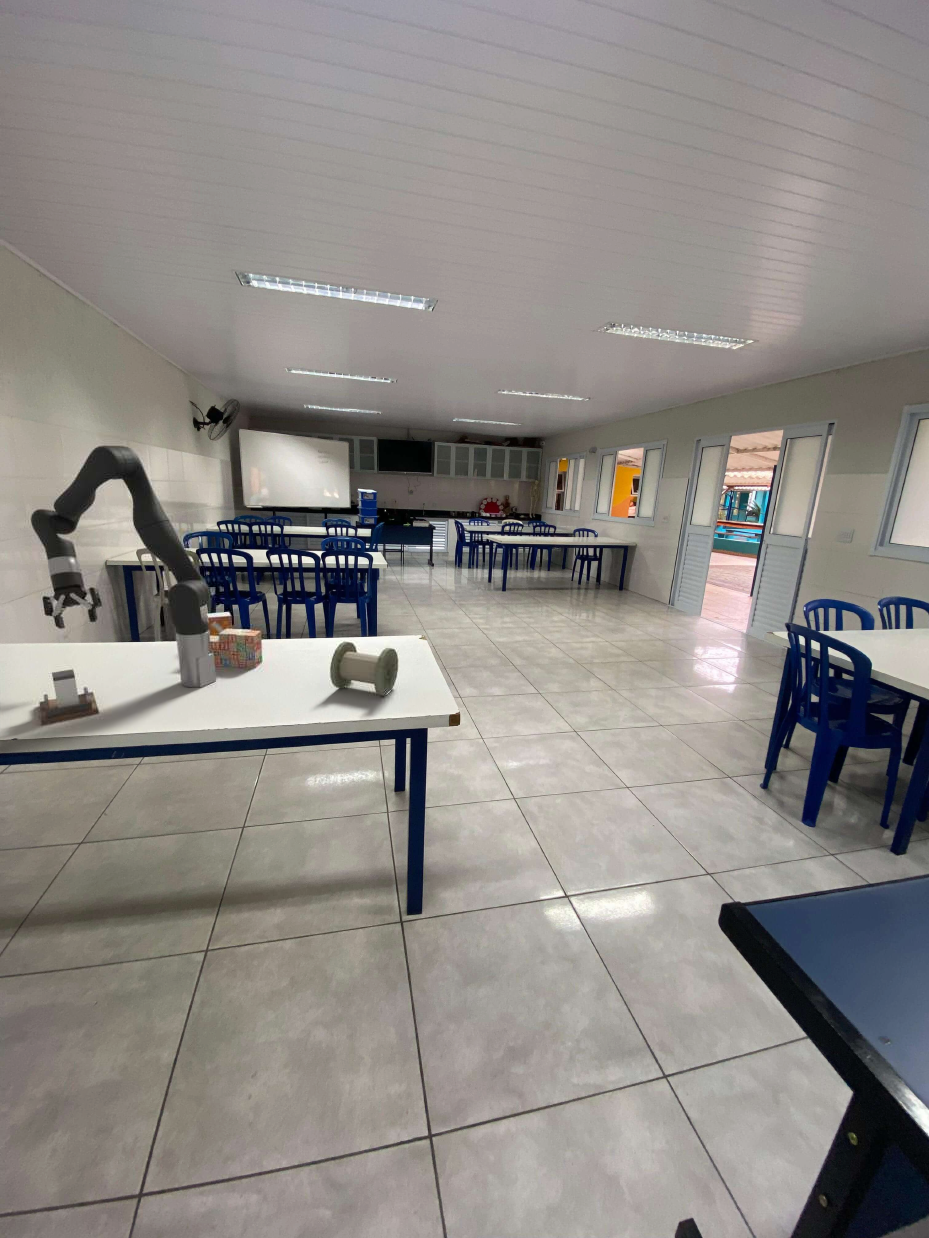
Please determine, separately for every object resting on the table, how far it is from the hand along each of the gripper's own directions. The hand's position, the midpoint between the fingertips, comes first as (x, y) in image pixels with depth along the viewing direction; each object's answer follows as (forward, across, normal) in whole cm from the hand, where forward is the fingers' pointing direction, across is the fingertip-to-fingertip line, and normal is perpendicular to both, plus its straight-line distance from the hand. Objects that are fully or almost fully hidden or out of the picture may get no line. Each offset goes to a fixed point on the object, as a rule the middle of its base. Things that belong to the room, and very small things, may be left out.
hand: (77, 625), depth 147 cm
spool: (+42, +78, -7) cm, 89 cm away
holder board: (+25, -1, -13) cm, 28 cm away
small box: (+13, +29, +37) cm, 49 cm away
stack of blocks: (+22, +35, +19) cm, 45 cm away
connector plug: (+24, 0, -14) cm, 28 cm away
